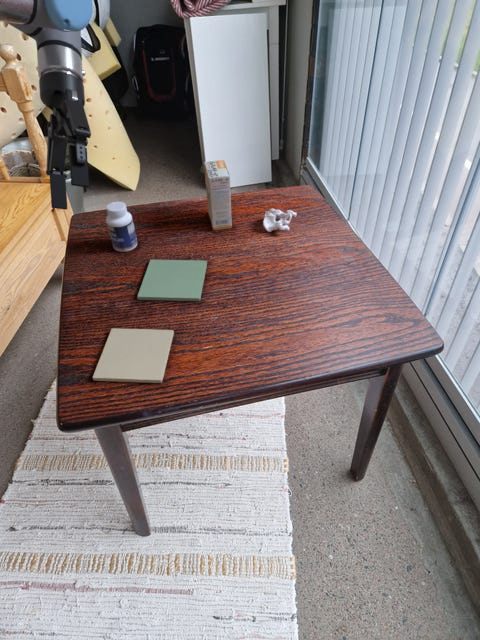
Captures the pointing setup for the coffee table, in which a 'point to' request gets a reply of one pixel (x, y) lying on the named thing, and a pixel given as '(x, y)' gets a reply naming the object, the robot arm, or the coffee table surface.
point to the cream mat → (134, 356)
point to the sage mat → (173, 280)
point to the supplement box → (218, 194)
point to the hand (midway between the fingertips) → (69, 198)
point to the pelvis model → (270, 221)
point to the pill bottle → (121, 227)
